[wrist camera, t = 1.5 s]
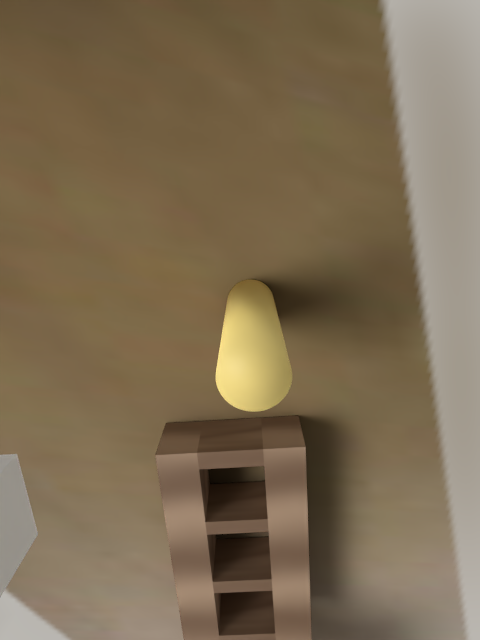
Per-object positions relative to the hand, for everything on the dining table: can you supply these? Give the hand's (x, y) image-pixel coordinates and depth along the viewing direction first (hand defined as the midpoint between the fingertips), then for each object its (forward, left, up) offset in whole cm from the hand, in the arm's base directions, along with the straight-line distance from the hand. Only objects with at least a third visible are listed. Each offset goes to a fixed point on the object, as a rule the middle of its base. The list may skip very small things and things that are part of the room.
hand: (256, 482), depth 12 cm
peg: (0, 0, -18) cm, 18 cm away
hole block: (+18, -2, -18) cm, 26 cm away
